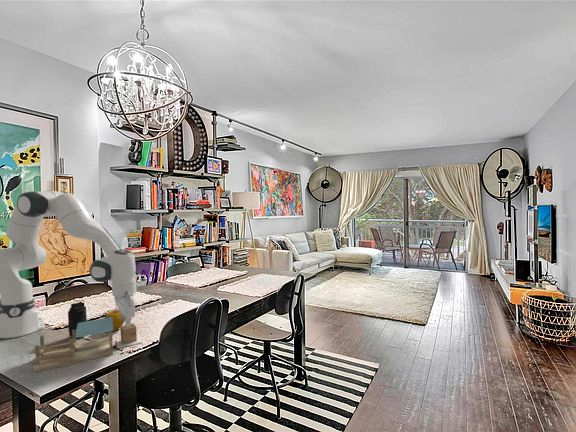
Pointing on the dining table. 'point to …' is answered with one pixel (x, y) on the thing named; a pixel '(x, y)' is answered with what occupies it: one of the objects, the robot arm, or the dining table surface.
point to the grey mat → (120, 344)
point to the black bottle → (76, 316)
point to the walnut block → (128, 334)
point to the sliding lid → (94, 327)
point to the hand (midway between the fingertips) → (125, 322)
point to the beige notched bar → (71, 352)
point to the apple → (115, 319)
